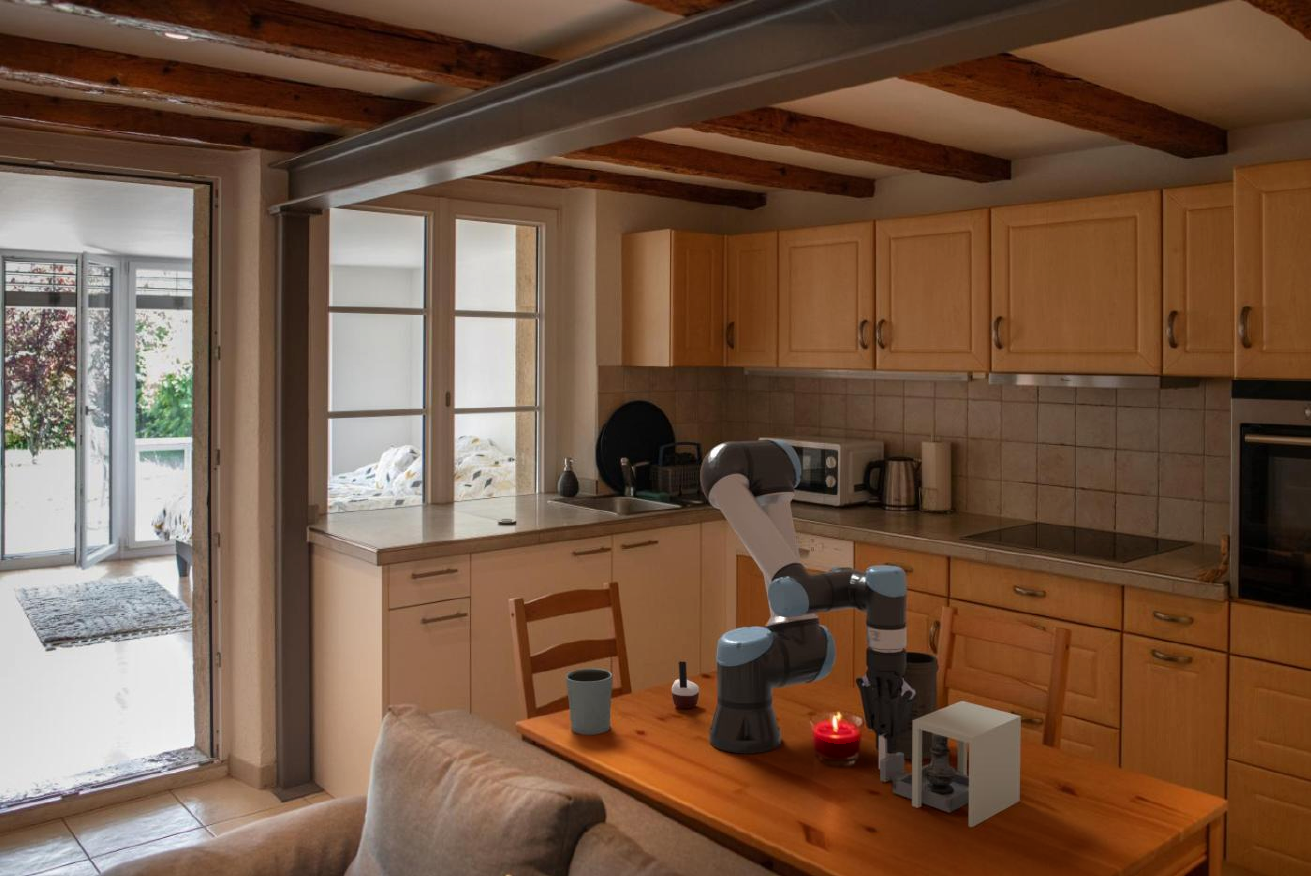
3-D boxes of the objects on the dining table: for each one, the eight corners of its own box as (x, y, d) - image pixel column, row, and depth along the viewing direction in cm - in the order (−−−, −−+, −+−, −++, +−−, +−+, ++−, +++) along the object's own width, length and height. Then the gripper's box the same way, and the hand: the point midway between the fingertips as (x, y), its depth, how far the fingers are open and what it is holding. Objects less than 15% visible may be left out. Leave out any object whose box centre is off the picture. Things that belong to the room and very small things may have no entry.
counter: (912, 805, 187) (912, 720, 186) (961, 781, 197) (961, 700, 196) (971, 827, 178) (972, 737, 177) (1019, 800, 189) (1020, 715, 187)
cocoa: (682, 701, 248) (681, 651, 248) (706, 704, 245) (705, 653, 245) (662, 711, 240) (661, 659, 240) (686, 714, 237) (685, 662, 237)
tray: (870, 784, 196) (870, 763, 196) (907, 767, 204) (907, 747, 204) (949, 812, 183) (949, 790, 183) (985, 793, 191) (986, 772, 191)
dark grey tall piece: (929, 795, 189) (929, 731, 188) (918, 783, 194) (919, 720, 194) (960, 794, 189) (961, 730, 188) (949, 781, 195) (949, 719, 194)
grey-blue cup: (621, 729, 228) (620, 676, 227) (581, 739, 222) (580, 684, 221) (597, 717, 236) (596, 665, 235) (558, 726, 231) (557, 673, 230)
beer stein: (942, 763, 207) (942, 662, 207) (886, 759, 209) (887, 659, 209) (937, 741, 222) (937, 647, 222) (885, 737, 224) (886, 645, 224)
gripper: (846, 644, 201) (846, 763, 203) (903, 657, 192) (903, 782, 193) (870, 637, 206) (870, 754, 208) (926, 650, 197) (926, 772, 198)
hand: (886, 767), depth 200 cm, fingers closed
